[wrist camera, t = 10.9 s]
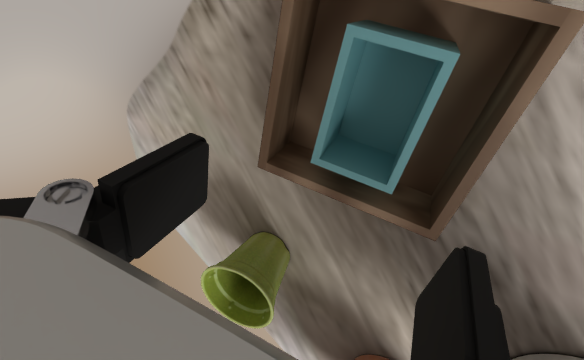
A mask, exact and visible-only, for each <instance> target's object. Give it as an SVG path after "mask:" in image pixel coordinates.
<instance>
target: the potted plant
mask: <svg viewBox="0 0 584 360" xmlns="http://www.w3.org/2000/svg"><path fill="white" fill-rule="evenodd" d="M355 360H390V359H388V358H385V357H382V356H378V355H370V354H369V355H361V356H359V357H357V358H355Z"/></svg>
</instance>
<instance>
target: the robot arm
mask: <svg viewBox="0 0 584 360" xmlns="http://www.w3.org/2000/svg"><path fill="white" fill-rule="evenodd" d="M208 158H209V145H208V144H207V143H206V139H205V138H203V137H201V136H198V135H196V134H193V133H189V134H187V135H185V136H183V137H181V138H179V139H177V140H175V141H173V142H171V143H169V144H167V145H165V146H163V147H161V148H159V149H157V150H155V151H153V152H151V153H149V154H147V155H145V156H143V157H141V158H139V159H137V160H135V161H134V162H131V163H129V164H127V165H126V166H124V167H122V168H120V169H118V170H116V171H114V172H112V173H110V174H108V175H106V176H104V177H102V178H100V179H98V184H99V185H98V186H97V187H95V188H94V187H93V186H92V184H91V183H89V182H88V181H85V180H82V179H64V180H60V181H56V182H53V183H51V184H48V185H47V186H45V187H44V188H42V189H41V190H40V191H39V192H38V194H37V196H36V197H28V198H14V199H0V360H298V359H296V358H294V357H293V356H291V355H289V354H287V353H286V352H284V351H282V350H281V349H279V348H277V347H275V346H274V345H272V344H270V343H268V342H267V341H265V340H263V339H262V338H260V337H258V336H256V335H255V334H253V333H251V332H249V331H247V330H246V329H244V328H242V327H241V326H238V325H237V324H235V323H233V322H232V321H230V320H228V319H227V318H225V317H223V316H221V315H220V314H217V313H216V312H214V311H213V310H211V309H209V308H207V307H205V306H204V305H202V304H200V303H199V302H197V301H195V300H193V299H192V298H190V297H188V296H186V295H184V294H183V293H181V292H179V291H178V290H176V289H174V288H172V287H170V286H168V285H167V284H165V283H163V282H162V281H160V280H158V279H156V278H154V277H153V276H151V275H149V274H147V273H145V272H144V271H142V270H140V269H138V268H137V267H135V266H133V265H131V264H130V262H131V261H132V260H133V259H134V258H135V259H137V258H140V257H141V256H143V255H144V254H145V253H146V252H147V251H149V250H150V249H151V248H152V247H153V246H155V245H156V244H157V243H158V242H159V241H161V240H162V239H163V238H164V237H165V236H166V235H168V234H169V233H170V232H171V231H173V230H174V229H175V228H176V227H177V226H179V225H180V224H181V223H182V222H183V221H185V220H186V219H187V218H188V217H189V216H191V215H192V214H193V213H194V212H195V211H196V210H198V209H199V208H200V207H201V206H202V205H203V204H204V203H205V202H206V199H207V187H208ZM411 360H510V355H509V350H508V345H507V340H506V335H505V329H504V324H503V319H502V314H501V311H500V308H499V307H498V306H497V305H495V304H494V299H493V293H492V287H491V282H490V276H489V270H488V264H487V259H486V255H485V254H484V253H481V252H479V251H476V250H474V249H471V248H469V247H467V246H464V247H463V248H461V249H459V248H455V249H454V250H453V251H452V253H451V254H450V255H449V257H448V258H447V259H446V261H445V262H444V263H443V265H442V266H441V267H440V269H439V270H438V271H437V273H436V274H435V275H434V277H433V278H432V280H431V281H430V282H429V284H428V285H427V286H426V288H425V289H424V290H423V292H422V293H421V294H420V296H419V297H418V299H417V302H416V306H415V317H414V328H413V339H412V351H411ZM512 360H584V359H582V358H578V357H574V356H567V355H559V354H532V355H526V356H521V357H517V358H514V359H512Z"/></svg>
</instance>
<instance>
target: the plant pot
mask: <svg viewBox="0 0 584 360" xmlns="http://www.w3.org/2000/svg"><path fill="white" fill-rule="evenodd" d="M289 260H290V254H289V251H288V250H287V249H286V247H285V245H284V243H283V242H282V241H281V240H280V239H279V238H278V237H276V236H274V235H272V234H270V233H266V232H261V233H258V234H254V235H253V236H251V237H250V238H249V239H248V240H247V241H246V242H245V243H243V244H242V245H241V246H240V247H239V248H238V249H237V250H235V251H234V252H233V253H232V254H231V255H230V256H228V257H227V258H226V259H225V260H224V261H221V262H219V263H218V264H216V265H213V266H210V267H208V268H207V269H206V270H205V271H204V272H203V274H202V276H201V286H202V289H203V292H204V294H205V296H206V297H207V299H208V300H209V302H210V303H211V304H212V305H213V307H214V308H215V309H217V310H218V311H219V312H220V313H221V314H222V315H224V316H225V317H227V318H228V319H229V320H231V321H233V322H235V323H237V324H239V325H242V326H245V327H249V328H263V327H265V326H267V325H269V324H270V323H271V321H272V319H273V316H274V305H275V297H276V295H277V292H278V289H279V287H280V284H281V281H282V278H283V276H284V273H285V271H286V268H287V265H288V263H289Z"/></svg>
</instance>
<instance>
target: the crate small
mask: <svg viewBox="0 0 584 360" xmlns="http://www.w3.org/2000/svg"><path fill="white" fill-rule="evenodd" d="M459 56H460V51H459V49H458V46H457V43H456V42H452V41H448V40H444V39H440V38H436V37H433V36H429V35H425V34H421V33H417V32H413V31H409V30H406V29H402V28H398V27H394V26H390V25H386V24H383V23H379V22H375V21H371V20H362V21H358V22H353V23H348V24H347V27H346V31H345V35H344V38H343V42H342V46H341V50H340V53H339V57H338V61H337V65H336V68H335V72H334V76H333V80H332V83H331V87H330V91H329V95H328V99H327V102H326V106H325V110H324V114H323V117H322V121H321V125H320V129H319V132H318V136H317V140H316V144H315V147H314V151H313V155H312V159H311V162H310V163H313V164H315V165H318V166H320V167H323V168H325V169H328V170H331V171H333V172H336V173H338V174H341V175H343V176H346V177H348V178H351V179H353V180H356V181H358V182H361V183H364V184H366V185H369V186H371V187H374V188H376V189H379V190H381V191H384V192H386V193H389V194H392V193H393V191H394V189H395V187H396V185H397V183H398V181H399V179H400V177H401V175H402V173H403V171H404V169H405V167H406V165H407V162H408V160H409V158H410V156H411V154H412V152H413V150H414V148H415V146H416V144H417V142H418V140H419V138H420V136H421V134H422V132H423V130H424V128H425V126H426V124H427V122H428V119H429V117H430V115H431V113H432V111H433V109H434V107H435V105H436V103H437V101H438V99H439V97H440V95H441V93H442V91H443V89H444V87H445V85H446V83H447V81H448V79H449V76H450V74H451V72H452V70H453V68H454V66H455V64H456V62H457V60H458V58H459Z"/></svg>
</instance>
